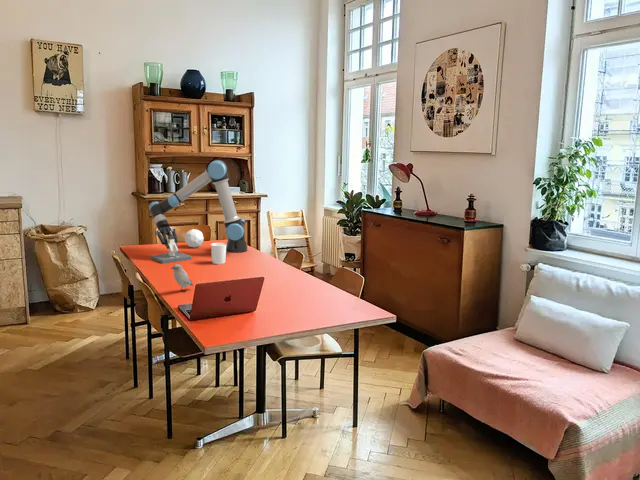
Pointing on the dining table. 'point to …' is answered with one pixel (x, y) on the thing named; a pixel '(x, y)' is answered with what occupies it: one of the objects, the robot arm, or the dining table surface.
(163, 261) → the board
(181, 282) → the bird
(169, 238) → the fader knob
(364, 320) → the dining table surface
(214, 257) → the candle holder
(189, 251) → the dining table surface
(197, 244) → the geodesic sphere
